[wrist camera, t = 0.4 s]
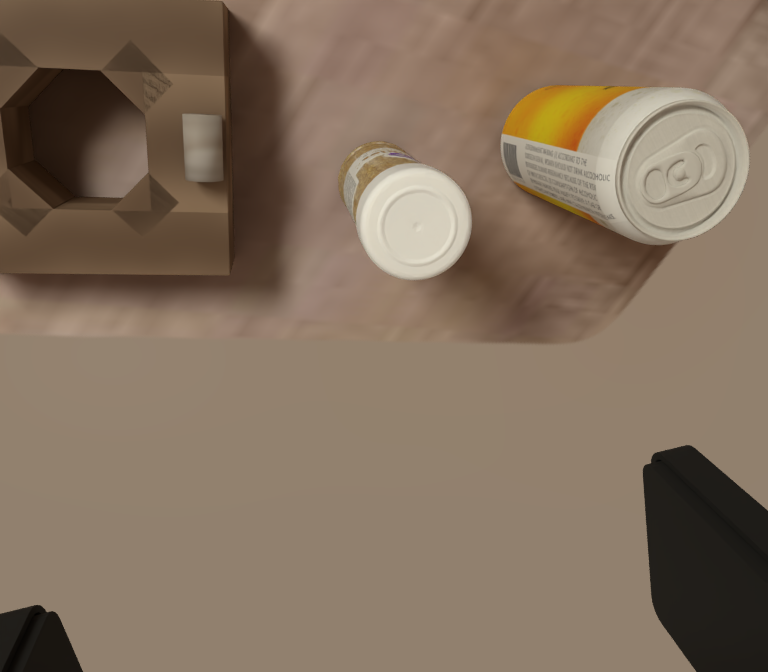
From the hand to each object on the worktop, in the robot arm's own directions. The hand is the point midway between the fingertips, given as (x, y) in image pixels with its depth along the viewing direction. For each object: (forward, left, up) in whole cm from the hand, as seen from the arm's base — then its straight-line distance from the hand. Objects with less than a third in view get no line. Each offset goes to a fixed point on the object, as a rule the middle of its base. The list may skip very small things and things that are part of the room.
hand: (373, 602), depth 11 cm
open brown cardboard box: (-4, -11, -32) cm, 34 cm away
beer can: (-5, +14, -32) cm, 35 cm away
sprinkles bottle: (-2, +4, -32) cm, 32 cm away
